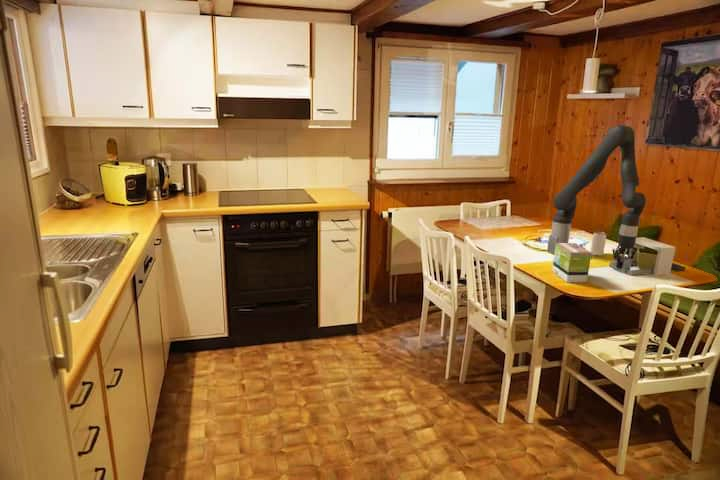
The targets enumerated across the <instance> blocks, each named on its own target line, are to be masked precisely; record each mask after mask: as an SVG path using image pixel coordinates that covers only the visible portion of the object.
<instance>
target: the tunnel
mask: <svg viewBox="0 0 720 480" xmlns="http://www.w3.org/2000/svg"><path fill="white" fill-rule="evenodd" d="M633 246H634V248H637V249H638V250H639V248H642V249H646V248H645V247H647V248H649V249H651V250H655V251H658V254H657V259H656V263H655V268H654V273H652V274H653V275H654V276H662V275H670V274H671V272H672V271H671V270H672V269H671V267H672V263H674V256H675V253H676V246H673V245H671V244H666V243H663V242H660V241H658V240H655V239H650V238H647V237H643V236H642V237H636V242H635V245H633ZM638 250H637V252H636V254H635V255H634V257H633V259H632V260H637V255H638ZM631 256H632V254H631ZM631 256H630V257H631Z"/></svg>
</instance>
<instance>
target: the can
mask: <svg viewBox="0 0 720 480" xmlns="http://www.w3.org/2000/svg"><path fill="white" fill-rule="evenodd" d="M591 239H592V240H591V246H590V250H589V251H590V252H592V253H591V256H592V255H593V256H597V257H601V256H603V255H604V252H605V246H606V239H607V233H606V232H603V231H594V233H593V234H592V238H591Z"/></svg>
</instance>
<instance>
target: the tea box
mask: <svg viewBox="0 0 720 480" xmlns="http://www.w3.org/2000/svg"><path fill="white" fill-rule="evenodd" d="M591 253H592V252H590V250H588V249H586V248H585V247H582V246H581V245H579V244H578V243H577V242H568V243H556V247H555V254H553V255H554V256H553V263H552V270H551V271H552V273H554V274H556V276H559V278H561V280H563V281H564V282H566V283H571V282H574V283H576V282H579V283H588V278H589V272H590V265H591V258H592V254H591ZM571 284H572V283H571Z"/></svg>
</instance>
